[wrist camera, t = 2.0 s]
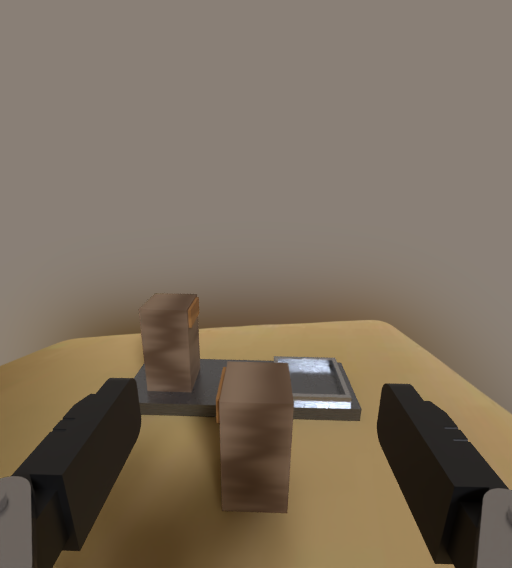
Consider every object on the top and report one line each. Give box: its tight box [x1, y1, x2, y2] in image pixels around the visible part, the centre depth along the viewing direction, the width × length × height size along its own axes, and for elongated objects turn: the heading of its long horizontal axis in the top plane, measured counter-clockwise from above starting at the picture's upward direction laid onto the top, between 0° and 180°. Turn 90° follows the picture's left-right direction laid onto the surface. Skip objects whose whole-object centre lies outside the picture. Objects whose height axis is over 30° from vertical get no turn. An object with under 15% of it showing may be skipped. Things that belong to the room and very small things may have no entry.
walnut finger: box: [216, 361, 294, 513], centre depth 24 cm, size 5×5×10 cm
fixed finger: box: [139, 293, 200, 392], centre depth 35 cm, size 5×5×10 cm
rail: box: [134, 356, 361, 421], centre depth 37 cm, size 26×9×2 cm, turn 89°
